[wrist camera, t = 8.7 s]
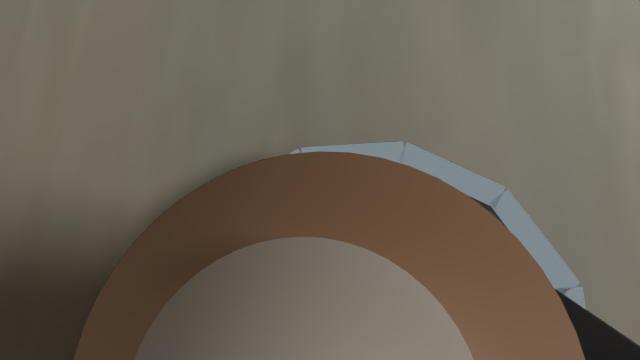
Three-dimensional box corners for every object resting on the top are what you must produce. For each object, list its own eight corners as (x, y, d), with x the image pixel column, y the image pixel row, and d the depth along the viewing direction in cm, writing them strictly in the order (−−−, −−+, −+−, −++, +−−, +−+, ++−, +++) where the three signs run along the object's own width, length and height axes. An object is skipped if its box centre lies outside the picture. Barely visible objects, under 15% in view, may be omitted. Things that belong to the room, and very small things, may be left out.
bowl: (587, 569, 15) (638, 627, 12) (175, 560, 16) (129, 611, 13) (528, 164, 18) (557, 132, 15) (194, 182, 19) (161, 155, 16)
